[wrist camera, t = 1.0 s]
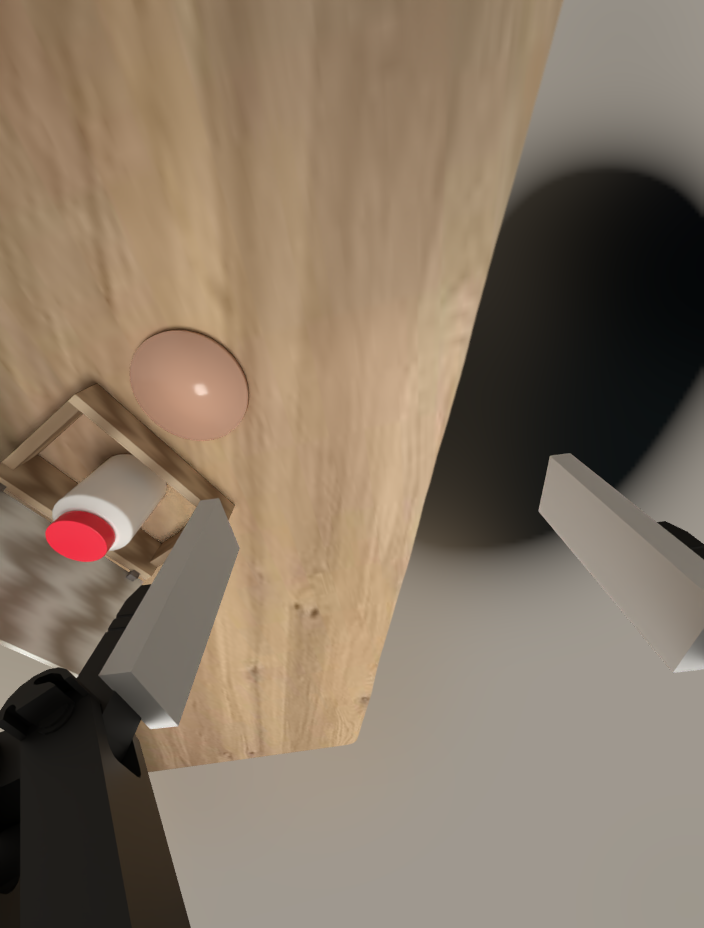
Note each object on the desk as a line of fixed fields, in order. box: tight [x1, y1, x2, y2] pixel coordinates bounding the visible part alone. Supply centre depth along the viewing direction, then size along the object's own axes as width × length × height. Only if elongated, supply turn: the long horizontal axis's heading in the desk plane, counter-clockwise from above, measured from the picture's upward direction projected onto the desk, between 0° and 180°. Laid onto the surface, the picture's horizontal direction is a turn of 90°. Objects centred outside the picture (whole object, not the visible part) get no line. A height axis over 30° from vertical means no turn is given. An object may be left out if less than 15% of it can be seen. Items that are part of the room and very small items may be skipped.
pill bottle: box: [45, 454, 167, 562], centre depth 37 cm, size 8×8×11 cm
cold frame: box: [0, 384, 235, 678], centre depth 35 cm, size 20×16×17 cm
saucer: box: [130, 330, 249, 441], centre depth 36 cm, size 12×12×1 cm
